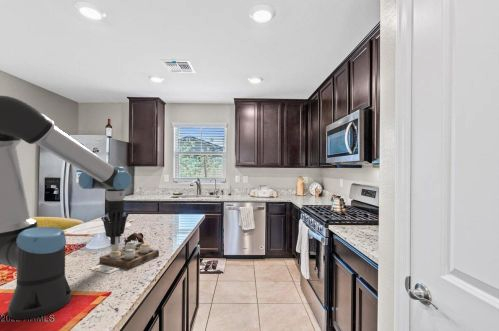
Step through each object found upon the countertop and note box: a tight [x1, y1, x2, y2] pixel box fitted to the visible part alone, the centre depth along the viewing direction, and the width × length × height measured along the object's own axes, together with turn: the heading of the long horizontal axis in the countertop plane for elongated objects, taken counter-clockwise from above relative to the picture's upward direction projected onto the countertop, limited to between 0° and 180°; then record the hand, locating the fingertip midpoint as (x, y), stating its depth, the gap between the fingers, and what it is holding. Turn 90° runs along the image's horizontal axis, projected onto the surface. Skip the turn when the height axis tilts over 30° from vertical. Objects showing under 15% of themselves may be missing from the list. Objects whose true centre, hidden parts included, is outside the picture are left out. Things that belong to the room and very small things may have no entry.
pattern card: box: [88, 264, 120, 275], centre depth 107 cm, size 5×12×1 cm, turn 67°
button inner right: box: [124, 249, 135, 260], centre depth 114 cm, size 4×4×4 cm
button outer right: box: [139, 242, 151, 254], centre depth 122 cm, size 4×4×4 cm
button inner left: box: [109, 250, 121, 258], centre depth 117 cm, size 4×4×4 cm
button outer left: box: [125, 240, 137, 250], centre depth 125 cm, size 4×4×4 cm
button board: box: [99, 246, 160, 269], centre depth 119 cm, size 18×18×2 cm
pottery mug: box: [123, 232, 145, 246], centre depth 141 cm, size 12×10×8 cm
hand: (114, 250), depth 117 cm, fingers closed
